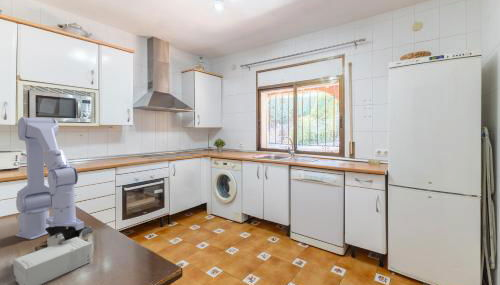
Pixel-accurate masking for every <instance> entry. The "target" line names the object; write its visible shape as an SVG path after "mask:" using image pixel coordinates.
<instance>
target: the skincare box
mask: <svg viewBox="0 0 500 285" xmlns="http://www.w3.org/2000/svg"><path fill="white" fill-rule="evenodd" d="M92 247H93V246H92V242H89V241H88V242H87V241H84V240H82V239H80V238H79V237H75V238H72V239H69V240H66V241H63V242H61V243H58V244H55V245H52V246H49V247H47V248H44V249H41V250H38V251H36V252H35V251H33V252H30V253H27V254H25V255H21V256H18V257H16V258H14V259H13V261H12V263H13V264H12V265H13V275H14V276H13V278H14V281H16V282H17V283H18V285H43V284H45V283H47V282H50V281H52V280H54V279H56V278H58V277H61V276H62V275H66V274H67V273H69V272H72V271H74V270H76V269H78V268H80V267H82V266H85V265H87V264H89V263H91V262H92Z"/></svg>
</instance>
